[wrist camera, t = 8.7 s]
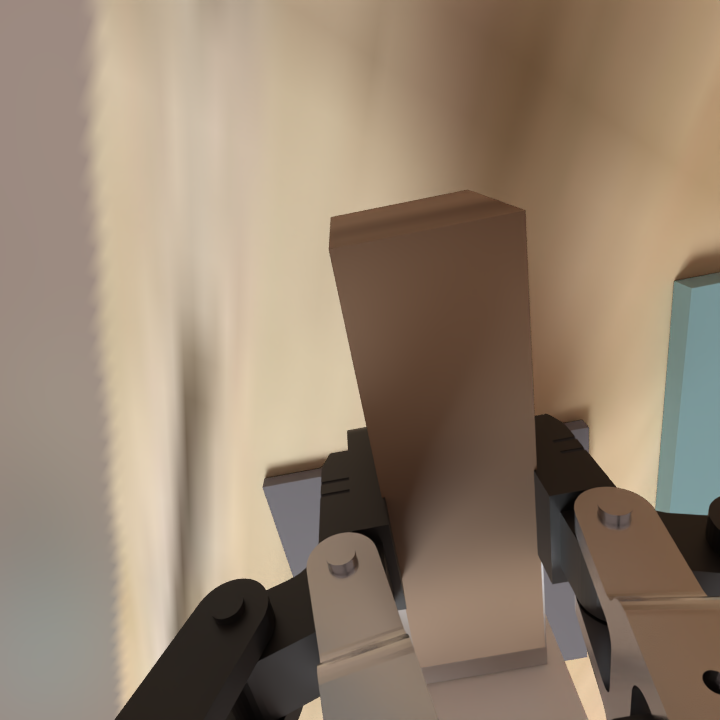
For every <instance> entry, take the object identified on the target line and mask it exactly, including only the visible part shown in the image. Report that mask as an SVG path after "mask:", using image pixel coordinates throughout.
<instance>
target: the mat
mask: <svg viewBox="0 0 720 720" xmlns="http://www.w3.org/2000/svg"><path fill="white" fill-rule="evenodd" d="M564 424H565V425H566V426H567V427H568V428H569V430H570V431H571V432H572V433H573V435H574V436H575V439H578V441H579V442H580V443H581V444H582V446H583V447H584V450H587V452H588V453H589V427H588V426H587V425H586V423H585V422H584V421H583V420H578V421H573V422H567V423H564ZM321 471H322V468H319V469H314V470H308V471H303V472H297V473H292V474H286V475H281V476H276V477H270V478H265V479H264V483H263V490H264V493H265V496H266V499H267V502H268V505H269V507H270V510H271V513H272V516H273V519H274V522H275V525H276V528H277V531H278V534H279V537H280V539H281V542H282V545H283V548H284V551H285V554H286V557H287V560H288V563H289V566H290V569H291V572H292V574H293V577H295V576H296V575H298V574H299V573H301V572H302V571H303V570H304V569H305V568H306V567H307V561H308V558H309V556H310V554H311V552H312V551H313V549H314V548H315V547H316V546H317V545H318V543H319V519H320V498H321ZM543 572H544V596H545V614H546V617H547V619H548V622H549V624H550V627H551V629H552V632H553V634H554V637H555V639H556V641H557V644H558V646H559V649H560V651H561V654H562V656H563V659H564V661H567V660H573V659H579V658H584V657H587V648H586V645H585V642H584V638H583V635H582V632H581V629H580V625H579V622H578V619H577V616H576V612H575V593H574V591H573V589H572V587H571V586H570V584H569V582H563V583H558V584H552V583H551V581H550V579H549V577H548V575H547V573H546V571H545V568H544V566H543Z"/></svg>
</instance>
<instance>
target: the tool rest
mask: <svg viewBox="0 0 720 720" xmlns="http://www.w3.org/2000/svg"><path fill="white" fill-rule="evenodd" d="M718 497H720V272H718V273H713V274H708V275H703V276H698V277H693V278H687V279H682V280H677V281H674V290H673V302H672V314H671V327H670V339H669V351H668V363H667V375H666V387H665V399H664V411H663V423H662V436H661V448H660V460H659V472H658V484H657V496H656V508H655V510H656V511H661V512H667V513H679V514H695V515H708V510H709V506H710V504H711V502H712V501H713V500H714V499H716V498H718Z"/></svg>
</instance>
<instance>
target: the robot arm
mask: <svg viewBox="0 0 720 720" xmlns="http://www.w3.org/2000/svg"><path fill="white" fill-rule="evenodd" d="M535 437H536V460H537V470H534V487H535V507H536V528H537V549H538V556H539V558H540V560H541V562H542V564H543V566H544V568H545V571H546V573H547V575H548V577H549V579H550V581H551V583H552V584H558V583H563V582H569V584H570V586H571V587H572V589H573V591H574V593H575V612H576V616H577V619H578V622H579V625H580V629H581V632H582V635H583V638H584V642H585V645H586V648H587V652H588V655H589V658H590V661H591V665H592V668H593V671H594V675H595V678H596V681H597V684H598V688H599V691H600V694H601V698H602V701H603V705H604V709H605V713H606V719H607V720H720V497H718V498H716V499H714V500H713V501H712V502H711V504H710V506H709V510H708V515H695V514H679V513H667V512H661V511H656V510H655V509H654V507H653V506H652V505H651V504H650V503H649V502H648V501H647V500H646V499H644V498H643V497H641V496H640V495H638V494H636V493H634V492H631V491H629V490H625V489H621V488H617V487H616V486H615V485H614V484H613V482H612V481H611V480H610V479H609V477H608V476H607V475H606V474H605V473H604V471H603V470H602V469H601V468H600V466H599V465H598V464H597V463H596V462H595V460H594V459H593V458H592V457H591V455H590V454H589V453H588V452H587V450H584V447H583V446H582V444H581V443H580V442H579V441H578V439H575V436H574V435H573V433H572V432H571V431H570V430H569V428H568V427H567V426H566V425H565V424H564V423H563V422H561V421H559V420H557V419H555V418H554V417H552V416H550V415H548V414H544V415H538V416H535ZM347 438H348V450H347V451H342V452H336V453H331V454H330V455H329V457H328V458H327V460H326V461H325V463H324V465H323V466H322V471H321V498H320V519H319V543H318V545H317V546H316V547H315V548H314V549H313V551H312V552H311V554H310V556H309V558H308V561H307V567H306V568H305V569H304V570H303V571H302V572H301V573H299V574H298V575H296V576H295V577H293V578H291V579H289V580H288V581H285V582H283V583H281V584H279V585H277V586H275V587H273V588H270V589H268V590H265V588H264V586H263V585H261V584H260V583H259V582H257V581H255V580H252V579H236V580H232V581H229V582H226V583H224V584H222V585H220V586H218V587H217V588H215V589H214V590H212V591H211V592H210V593H209V594H208V595H207V596H206V597H205V598H204V599H203V600H202V601H201V602H200V603H199V605H198V606H197V608H196V609H195V610H194V612H193V613H192V614H191V616H190V617H189V619H188V620H187V621H186V623H185V624H184V625H183V627H182V628H181V629H180V631H179V632H178V634H177V635H176V636H175V638H174V639H173V640H172V642H171V643H170V645H169V646H168V647H167V649H166V650H165V651H164V653H163V654H162V655H161V657H160V658H159V660H158V661H157V662H156V664H155V665H154V666H153V668H152V669H151V671H150V672H149V673H148V675H147V676H146V677H145V679H144V680H143V682H142V683H141V684H140V686H139V687H138V688H137V690H136V691H135V692H134V694H133V695H132V697H131V698H130V699H129V701H128V702H127V703H126V705H125V706H124V708H123V709H122V710H121V712H120V713H119V714H118V716H117V717H116V718H115V720H298V719H299V716H300V714H301V711H302V708H303V706H304V705H305V704H307V703H309V702H311V701H313V700H314V699H316V698H318V697H320V698H321V706H322V713H323V720H439V719H438V716H437V713H436V710H435V707H434V705H433V702H432V699H431V696H430V693H429V690H428V687H427V684H426V681H425V679H424V676H423V673H422V670H421V667H420V664H419V661H418V658H417V656H416V653H415V650H414V647H413V644H412V642H411V639H410V637H409V635H408V634H406V632H405V630H404V627H403V624H402V621H401V618H400V615H399V612H398V610H404V609H407V607H406V601H405V594H404V588H403V581H402V576H401V571H400V566H399V562H398V557H397V552H396V547H395V543H394V538H393V533H392V528H391V524H390V519H389V514H388V509H387V504H386V500H385V497H383V498H382V496H381V492H380V487H379V482H378V478H377V473H376V468H375V464H374V459H373V454H372V449H371V445H370V440H369V435H368V431H367V427H363V428H358V429H353V430H348V431H347Z"/></svg>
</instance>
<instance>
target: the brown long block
mask: <svg viewBox="0 0 720 720" xmlns="http://www.w3.org/2000/svg"><path fill="white" fill-rule="evenodd" d="M329 253H330V257H331V262H332V267H333V271H334V276H335V281H336V286H337V290H338V295H339V300H340V304H341V309H342V314H343V318H344V323H345V328H346V332H347V337H348V342H349V346H350V351H351V356H352V360H353V365H354V370H355V375H356V379H357V384H358V389H359V393H360V398H361V403H362V407H363V412H364V417H365V421H366V426H367V431H368V435H369V440H370V445H371V449H372V454H373V459H374V464H375V468H376V473H377V478H378V482H379V487H380V492H381V496H382V498H383V497H385V500H386V504H387V509H388V514H389V519H390V524H391V528H392V533H393V538H394V543H395V547H396V552H397V557H398V562H399V566H400V571H401V576H402V581H403V588H404V594H405V601H406V607H407V609H404V610H398V612H399V615H400V618H401V621H402V624H403V627H404V630H405V632H406V634H408V635H409V637H410V639H411V642H412V644H413V647H414V650H415V653H416V656H417V658H418V661H419V664H420V667H421V670H422V673H423V676H424V679H425V681H426V684H430V683H436V682H442V681H448V680H454V679H460V678H466V677H472V676H478V675H484V674H490V673H496V672H502V671H508V670H514V669H520V668H526V667H532V666H538V665H544V664H547V643H546V619H545V596H544V572H543V564H542V562H541V560H540V558H539V556H538V549H537V528H536V507H535V487H534V470H537V460H536V437H535V415H534V393H533V370H532V348H531V326H530V303H529V281H528V259H527V237H526V214H525V210H523V209H520V208H517V207H514V206H512V205H509V204H506V203H503V202H500V201H498V200H495V199H492V198H489V197H486V196H484V195H481V194H478V193H475V192H472V191H469V190H464V191H459V192H454V193H449V194H444V195H439V196H434V197H429V198H424V199H419V200H414V201H409V202H404V203H399V204H394V205H389V206H384V207H379V208H374V209H369V210H364V211H359V212H354V213H349V214H344V215H339V216H334V217H331V222H330V238H329Z"/></svg>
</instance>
